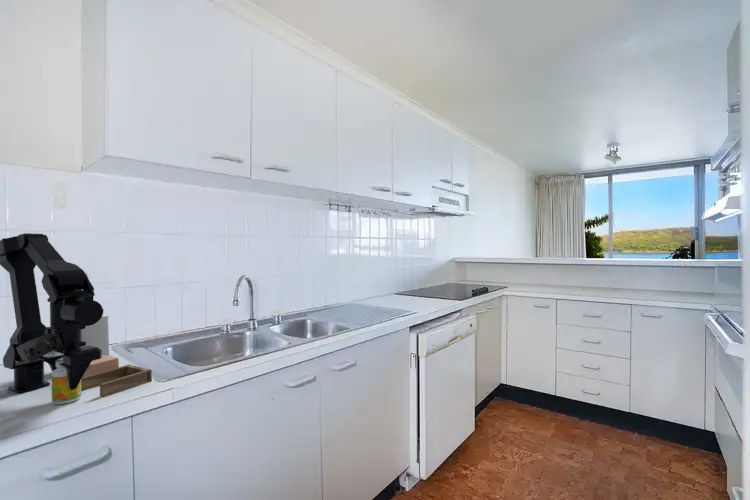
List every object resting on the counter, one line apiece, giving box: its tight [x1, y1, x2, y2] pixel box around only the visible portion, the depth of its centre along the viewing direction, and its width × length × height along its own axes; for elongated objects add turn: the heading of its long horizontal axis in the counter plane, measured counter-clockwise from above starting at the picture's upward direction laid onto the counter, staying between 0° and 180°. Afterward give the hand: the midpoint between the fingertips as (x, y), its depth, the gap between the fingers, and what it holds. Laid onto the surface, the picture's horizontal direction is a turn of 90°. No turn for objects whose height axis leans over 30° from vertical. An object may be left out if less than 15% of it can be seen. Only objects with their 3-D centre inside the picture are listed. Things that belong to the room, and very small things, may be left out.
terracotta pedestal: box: [83, 355, 120, 377], centre depth 103 cm, size 7×7×5 cm
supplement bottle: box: [51, 358, 82, 405], centre depth 88 cm, size 5×5×10 cm
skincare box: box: [79, 313, 110, 356], centre depth 112 cm, size 8×7×16 cm
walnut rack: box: [81, 364, 153, 398], centre depth 98 cm, size 10×12×3 cm
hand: (66, 387), depth 88 cm, fingers closed on supplement bottle, 5 cm apart
